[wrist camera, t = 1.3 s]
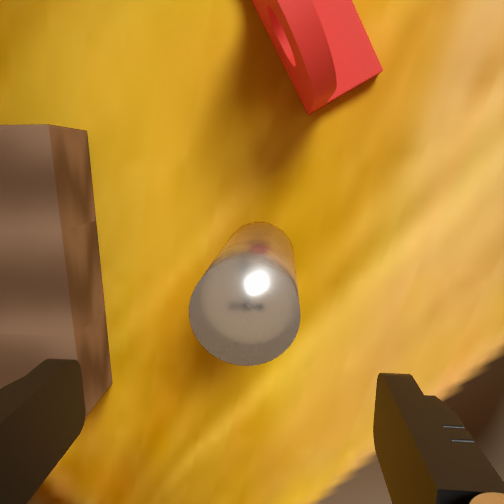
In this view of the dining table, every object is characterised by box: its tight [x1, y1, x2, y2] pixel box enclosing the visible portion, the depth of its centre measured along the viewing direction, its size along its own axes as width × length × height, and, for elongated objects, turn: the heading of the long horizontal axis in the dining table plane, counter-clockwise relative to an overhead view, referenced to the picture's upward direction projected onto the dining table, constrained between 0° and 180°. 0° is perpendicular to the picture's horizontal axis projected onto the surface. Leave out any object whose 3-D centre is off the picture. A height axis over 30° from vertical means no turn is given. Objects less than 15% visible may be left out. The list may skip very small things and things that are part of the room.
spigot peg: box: [189, 222, 300, 366], centre depth 20 cm, size 4×4×10 cm
